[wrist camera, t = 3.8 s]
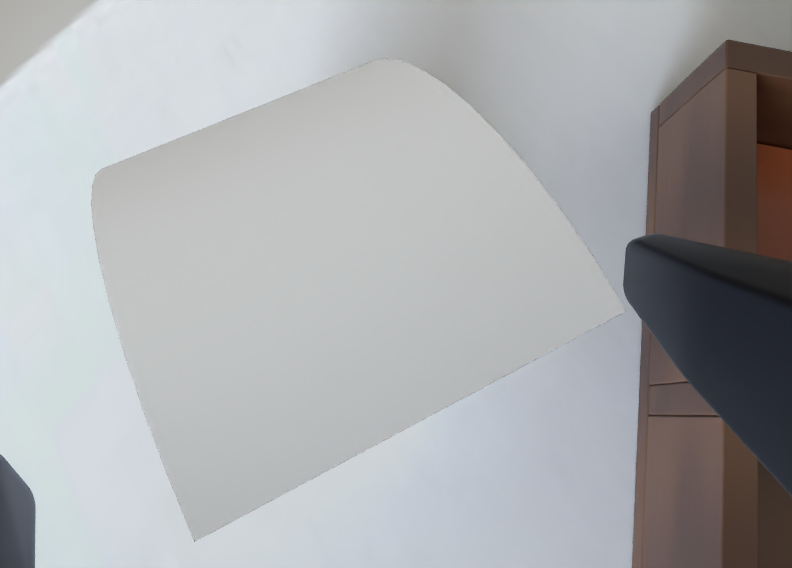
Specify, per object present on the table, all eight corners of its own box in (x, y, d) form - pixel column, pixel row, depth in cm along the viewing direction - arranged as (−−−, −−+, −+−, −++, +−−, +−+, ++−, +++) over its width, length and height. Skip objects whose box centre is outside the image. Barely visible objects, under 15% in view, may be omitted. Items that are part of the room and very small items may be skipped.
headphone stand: (293, 454, 17) (190, 544, 5) (207, 268, 18) (-48, -20, 6) (435, 380, 18) (629, 312, 6) (346, 206, 18) (362, -151, 7)
